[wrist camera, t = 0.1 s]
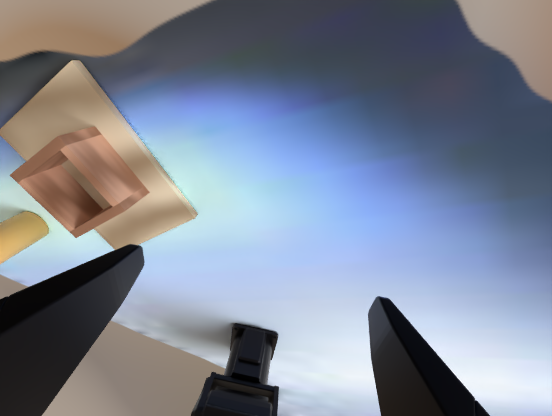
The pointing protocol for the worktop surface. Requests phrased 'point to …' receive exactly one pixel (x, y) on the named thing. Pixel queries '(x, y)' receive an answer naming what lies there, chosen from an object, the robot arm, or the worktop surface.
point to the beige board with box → (92, 164)
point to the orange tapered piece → (20, 233)
